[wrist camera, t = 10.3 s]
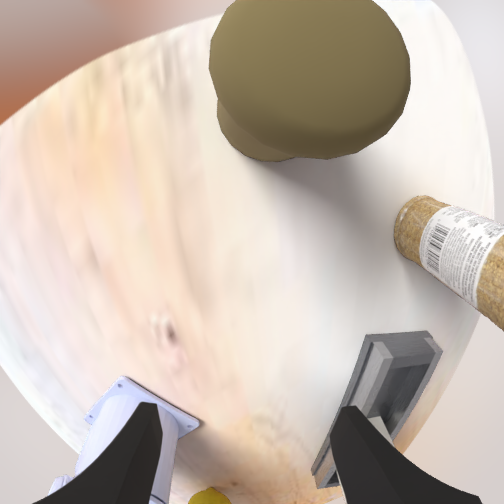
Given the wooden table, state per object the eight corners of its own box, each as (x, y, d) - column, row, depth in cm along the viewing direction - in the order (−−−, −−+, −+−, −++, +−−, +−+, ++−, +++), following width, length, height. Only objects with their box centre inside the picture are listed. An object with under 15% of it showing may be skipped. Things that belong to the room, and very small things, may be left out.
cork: (344, 117, 15) (480, 91, 5) (268, 184, 16) (322, 242, 6) (274, 42, 14) (323, -79, 3) (194, 108, 15) (122, 40, 4)
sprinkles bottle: (426, 266, 19) (557, 378, 6) (380, 245, 18) (532, 376, 5) (451, 209, 17) (604, 285, 5) (408, 181, 17) (593, 250, 4)
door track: (357, 462, 27) (364, 480, 24) (310, 469, 27) (315, 489, 24) (426, 330, 21) (444, 351, 18) (365, 334, 20) (381, 359, 17)
